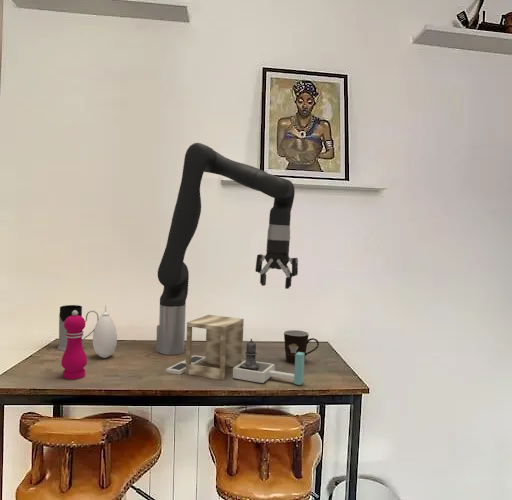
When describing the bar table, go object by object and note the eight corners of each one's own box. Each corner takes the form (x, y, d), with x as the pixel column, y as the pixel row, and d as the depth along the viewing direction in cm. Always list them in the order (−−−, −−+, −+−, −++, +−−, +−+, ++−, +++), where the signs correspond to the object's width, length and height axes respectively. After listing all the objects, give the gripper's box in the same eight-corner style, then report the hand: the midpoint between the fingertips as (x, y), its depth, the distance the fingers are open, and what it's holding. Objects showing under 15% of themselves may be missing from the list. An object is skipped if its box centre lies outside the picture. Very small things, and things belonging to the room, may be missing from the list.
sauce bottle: (98, 361, 160) (99, 308, 159) (88, 356, 166) (89, 304, 165) (120, 358, 166) (121, 306, 164) (110, 352, 171) (111, 302, 170)
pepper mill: (71, 381, 140) (72, 313, 139) (55, 376, 144) (56, 310, 143) (91, 375, 147) (92, 310, 145) (76, 370, 150) (77, 307, 149)
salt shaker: (256, 380, 148) (258, 341, 147) (238, 378, 149) (239, 339, 148) (261, 374, 153) (262, 337, 153) (243, 372, 155) (244, 335, 154)
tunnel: (185, 373, 152) (186, 322, 151) (207, 361, 165) (208, 314, 164) (223, 380, 147) (224, 327, 146) (241, 367, 160) (243, 318, 159)
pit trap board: (165, 372, 152) (166, 368, 152) (194, 358, 169) (194, 354, 169) (179, 374, 150) (179, 371, 150) (206, 360, 167) (206, 356, 167)
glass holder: (62, 344, 180) (62, 304, 179) (100, 345, 181) (101, 305, 180) (53, 350, 172) (54, 308, 171) (94, 351, 173) (95, 309, 172)
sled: (232, 377, 148) (233, 348, 147) (245, 368, 157) (246, 341, 157) (297, 388, 140) (298, 358, 140) (306, 378, 150) (307, 350, 149)
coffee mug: (277, 360, 169) (278, 332, 168) (293, 356, 175) (294, 329, 175) (304, 368, 161) (305, 339, 161) (319, 363, 168) (320, 335, 167)
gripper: (254, 237, 160) (251, 285, 162) (295, 240, 155) (291, 290, 156) (263, 236, 167) (260, 283, 168) (302, 240, 162) (299, 288, 163)
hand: (275, 286), depth 162 cm, fingers open, 8 cm apart
